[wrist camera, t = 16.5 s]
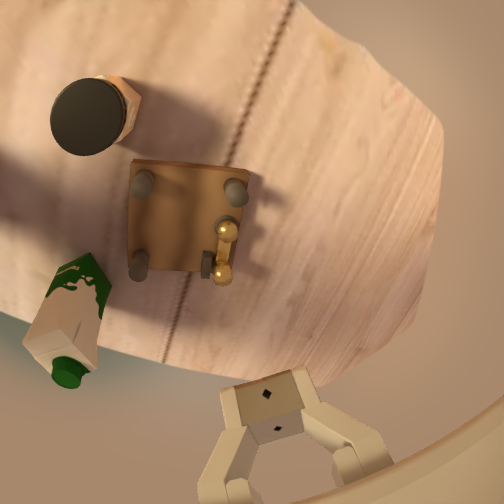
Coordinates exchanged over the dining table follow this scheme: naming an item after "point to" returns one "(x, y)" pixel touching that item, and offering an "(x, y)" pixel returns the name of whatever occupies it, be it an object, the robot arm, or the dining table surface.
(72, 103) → the jar
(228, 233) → the gold bone
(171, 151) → the dining table surface
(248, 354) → the dining table surface
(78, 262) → the milk carton
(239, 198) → the stool seat
